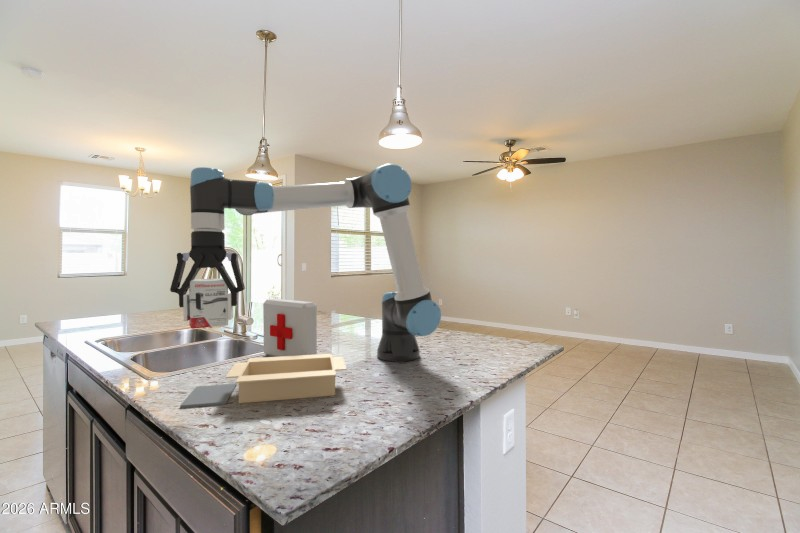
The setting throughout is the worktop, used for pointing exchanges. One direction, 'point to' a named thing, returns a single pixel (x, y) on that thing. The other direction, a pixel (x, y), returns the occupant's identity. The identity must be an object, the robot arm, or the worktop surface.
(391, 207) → the robot arm
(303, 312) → the bevelled white case
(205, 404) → the mat
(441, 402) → the worktop surface
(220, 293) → the ink box
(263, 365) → the carton
